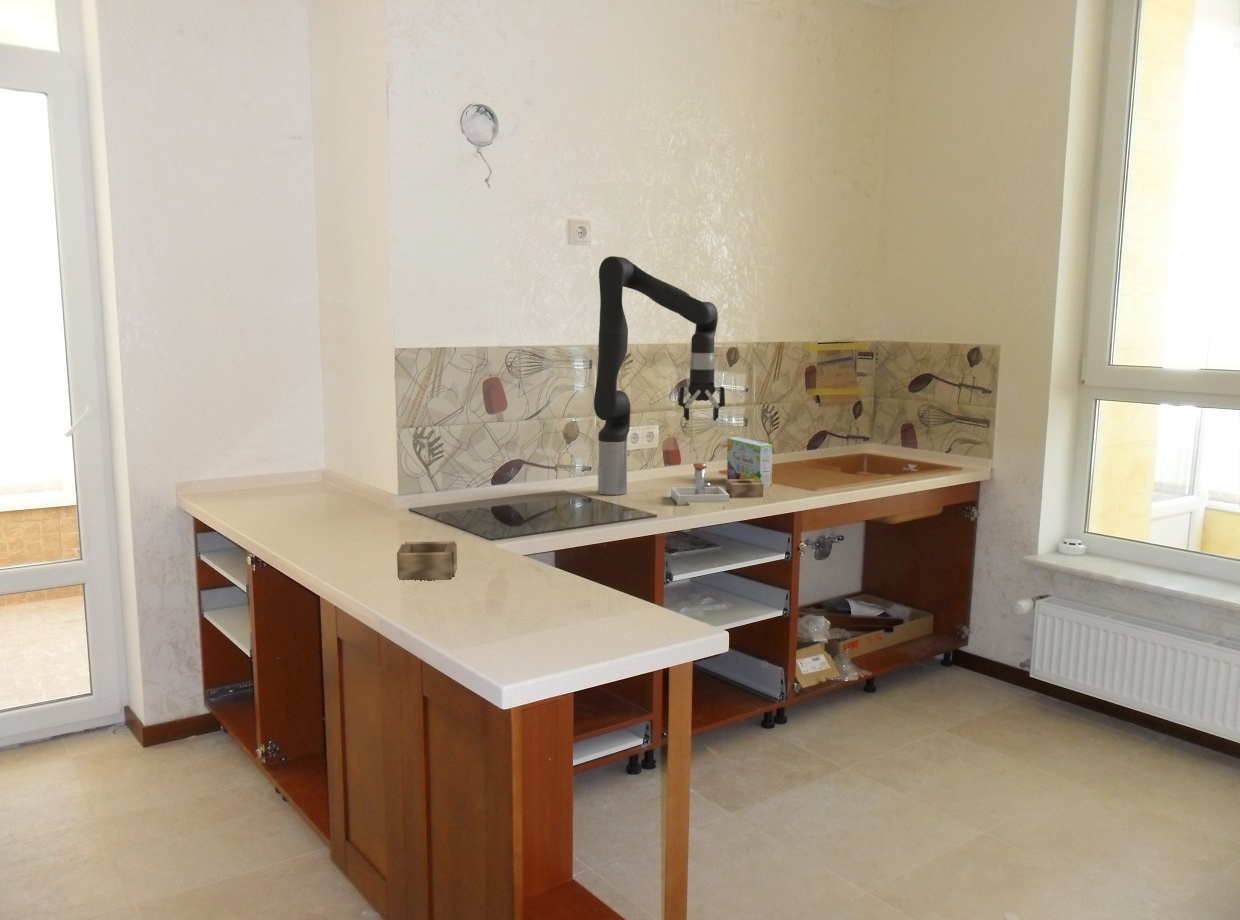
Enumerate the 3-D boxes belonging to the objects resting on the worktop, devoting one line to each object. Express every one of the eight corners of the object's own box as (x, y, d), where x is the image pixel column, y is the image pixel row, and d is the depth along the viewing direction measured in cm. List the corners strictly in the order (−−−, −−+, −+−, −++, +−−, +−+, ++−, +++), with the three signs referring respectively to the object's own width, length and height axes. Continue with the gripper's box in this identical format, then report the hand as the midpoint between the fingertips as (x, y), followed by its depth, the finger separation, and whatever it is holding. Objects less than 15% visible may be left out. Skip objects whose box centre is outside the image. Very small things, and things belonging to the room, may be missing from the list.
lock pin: (694, 499, 298) (694, 464, 296) (692, 497, 302) (692, 462, 300) (706, 499, 298) (707, 464, 297) (704, 497, 302) (705, 462, 301)
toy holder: (396, 587, 204) (395, 555, 203) (404, 572, 216) (403, 542, 215) (453, 586, 205) (452, 554, 204) (457, 571, 217) (457, 541, 216)
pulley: (697, 496, 307) (697, 485, 306) (693, 492, 314) (694, 481, 313) (719, 496, 307) (719, 485, 307) (715, 492, 314) (715, 481, 314)
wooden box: (731, 500, 300) (731, 484, 299) (725, 494, 310) (725, 479, 309) (763, 500, 301) (763, 484, 300) (755, 494, 311) (756, 478, 310)
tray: (677, 505, 293) (677, 495, 292) (670, 496, 306) (671, 487, 306) (729, 504, 294) (729, 494, 294) (720, 495, 308) (720, 486, 307)
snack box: (725, 479, 338) (726, 437, 336) (739, 478, 341) (740, 436, 338) (758, 489, 319) (759, 444, 317) (772, 488, 322) (774, 443, 319)
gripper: (681, 368, 290) (680, 421, 292) (727, 368, 291) (726, 421, 293) (677, 366, 297) (676, 418, 299) (722, 367, 298) (721, 418, 301)
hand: (701, 420), depth 296 cm, fingers open, 8 cm apart
